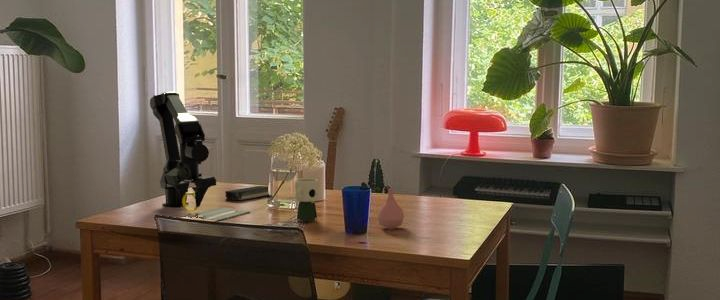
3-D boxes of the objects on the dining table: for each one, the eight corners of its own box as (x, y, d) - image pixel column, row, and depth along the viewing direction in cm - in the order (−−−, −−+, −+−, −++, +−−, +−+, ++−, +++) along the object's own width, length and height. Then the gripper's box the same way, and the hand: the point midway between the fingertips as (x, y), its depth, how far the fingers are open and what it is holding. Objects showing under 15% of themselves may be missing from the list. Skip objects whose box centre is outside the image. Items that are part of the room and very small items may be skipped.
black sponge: (237, 203, 266) (237, 192, 265) (223, 199, 272) (223, 189, 271) (273, 196, 277) (273, 186, 277) (259, 193, 283) (259, 183, 283)
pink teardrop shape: (385, 224, 231) (385, 185, 230) (408, 227, 227) (408, 187, 226) (373, 229, 225) (373, 189, 223) (396, 232, 221) (396, 192, 219)
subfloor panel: (171, 220, 238) (171, 218, 238) (221, 208, 256) (221, 206, 256) (200, 225, 231) (200, 223, 231) (250, 212, 249) (250, 210, 248)
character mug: (309, 225, 230) (308, 183, 228) (288, 223, 233) (287, 181, 231) (325, 218, 240) (324, 177, 238) (305, 216, 243) (304, 176, 241)
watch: (201, 210, 248) (200, 192, 247) (195, 211, 246) (195, 193, 245) (186, 208, 251) (185, 190, 250) (181, 210, 248) (180, 192, 248)
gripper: (150, 159, 245) (152, 206, 247) (190, 164, 234) (192, 213, 236) (176, 155, 254) (178, 200, 256) (216, 159, 243) (218, 207, 245)
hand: (190, 205), depth 248 cm, fingers closed on watch, 6 cm apart
